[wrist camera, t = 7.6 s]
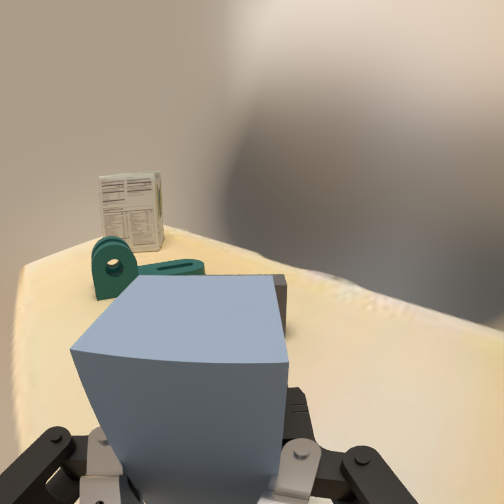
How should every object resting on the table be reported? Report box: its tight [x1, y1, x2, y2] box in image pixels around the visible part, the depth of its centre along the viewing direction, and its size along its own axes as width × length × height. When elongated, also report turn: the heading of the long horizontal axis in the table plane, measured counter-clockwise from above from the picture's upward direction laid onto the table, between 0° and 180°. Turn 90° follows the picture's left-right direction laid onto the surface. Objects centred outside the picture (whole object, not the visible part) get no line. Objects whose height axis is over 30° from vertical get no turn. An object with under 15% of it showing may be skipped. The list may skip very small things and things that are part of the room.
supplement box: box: [99, 171, 164, 252], centre depth 66 cm, size 13×13×18 cm
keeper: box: [70, 275, 289, 504], centre depth 10 cm, size 6×5×13 cm
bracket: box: [92, 236, 205, 301], centre depth 44 cm, size 18×7×8 cm, turn 120°
